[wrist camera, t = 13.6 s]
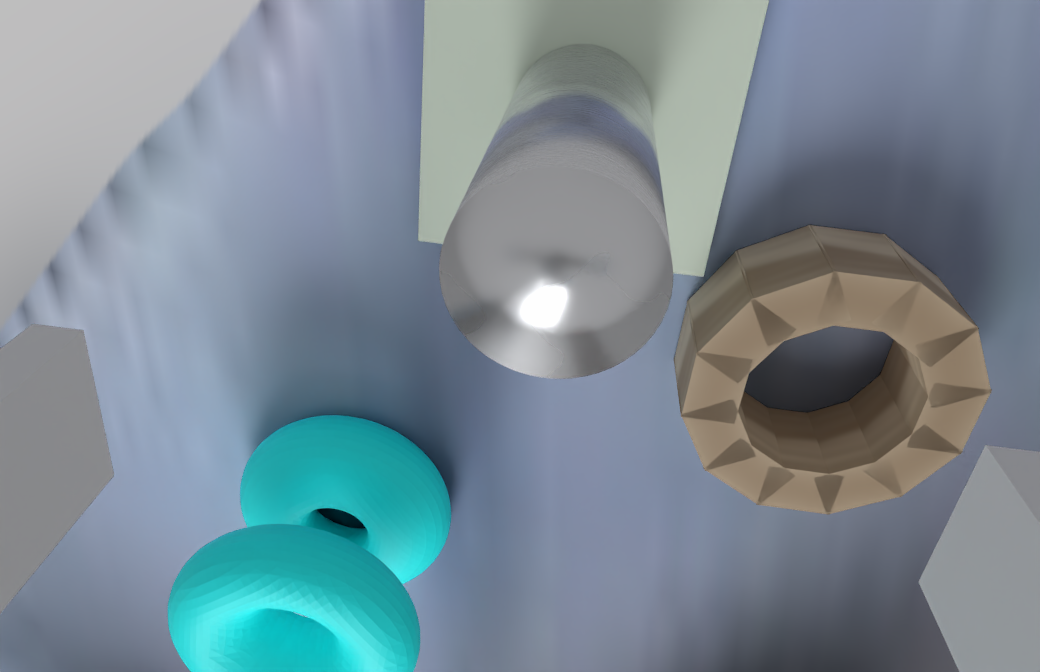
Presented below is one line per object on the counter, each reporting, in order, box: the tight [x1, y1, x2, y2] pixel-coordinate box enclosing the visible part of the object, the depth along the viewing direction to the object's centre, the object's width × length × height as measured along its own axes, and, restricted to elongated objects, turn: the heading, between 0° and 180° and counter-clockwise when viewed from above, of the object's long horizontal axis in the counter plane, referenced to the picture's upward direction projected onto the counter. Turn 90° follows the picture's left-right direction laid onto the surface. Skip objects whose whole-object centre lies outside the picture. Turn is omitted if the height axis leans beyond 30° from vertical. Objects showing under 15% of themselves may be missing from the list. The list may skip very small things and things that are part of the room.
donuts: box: [168, 415, 451, 672], centre depth 34 cm, size 10×10×10 cm
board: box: [418, 0, 769, 277], centre depth 28 cm, size 11×11×1 cm
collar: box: [674, 225, 992, 514], centre depth 31 cm, size 10×10×4 cm
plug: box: [439, 44, 673, 379], centre depth 22 cm, size 5×5×13 cm
